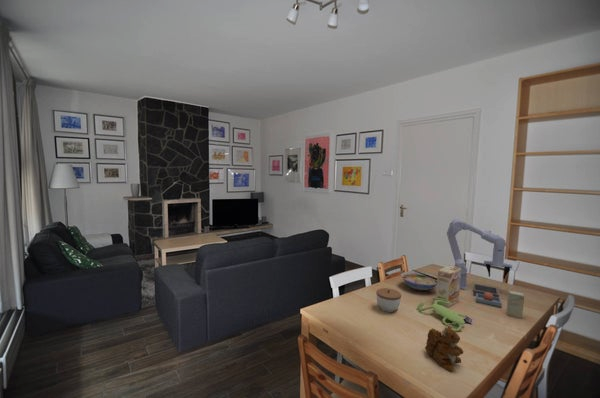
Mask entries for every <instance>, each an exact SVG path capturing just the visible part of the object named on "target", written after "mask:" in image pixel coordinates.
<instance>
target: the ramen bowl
mask: <svg viewBox="0 0 600 398" xmlns="http://www.w3.org/2000/svg"><path fill="white" fill-rule="evenodd" d="M400 276H401V278H402V280H403V282H404V283H405V284H406V285H407V286H408V287H409V288H412V289H414V290H416V291H419V292H420V291H421V292H423V291H430V290H432V289H434V288H435V287H436V288H437V283H438V276H435V275H434V274H429V273H426V272H422V271H417V270H414V269H412V271H405V272H402V273H401V274H400Z"/></svg>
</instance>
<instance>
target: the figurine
mask: <svg viewBox="0 0 600 398" xmlns="http://www.w3.org/2000/svg"><path fill="white" fill-rule="evenodd" d="M432 300H435V301H434V303H433V304H431V305H430V306H427V307H423V306H424V305H425V303H424V302H422V301H421V302H420V303H419V305H417V307H416V311H420V312H424V311H427V310H430V309H433V310H434V311H435V312H437V314H439V315H440V316H442V324H444V327H445V329H446V328H448V327H449V326H447V325H454V326H455V325H458V327H457V328H451V329H452V330H454V331H455V332H456V333H457V332H460V331H461V330H462V329H463V325H465V323H468V324H470V325H471V323H472V321H473V319H472V318H471V317H469V316H467V315H466V314H463V313H456V312H455V311H454V310H452V309H450V308H449V307H445V306H442V305H440V304H437V303H438V302H441V303H444V304H449V301H448V300H446V299H442V298H436V297H432ZM445 301H446V302H445ZM446 320H448V321H451V323H449V322H448V323H447V322H446Z"/></svg>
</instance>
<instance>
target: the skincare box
mask: <svg viewBox="0 0 600 398" xmlns="http://www.w3.org/2000/svg"><path fill="white" fill-rule="evenodd" d="M524 304H525V294H524V293H523V292H518V291H512V290H508V293H507V302H506V311H505V313H506V315H507V316H510V317H514V318H518V319H523V311H524Z"/></svg>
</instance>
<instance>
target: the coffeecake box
mask: <svg viewBox="0 0 600 398" xmlns="http://www.w3.org/2000/svg"><path fill="white" fill-rule="evenodd" d="M460 277H461V268H458V267H455V265H454V266H453V265H448V266H445V267H443V268H440V269H438V270H437V278H438V283H437V286H436V297H435V298H442V299H446V300H448V301H449V304H444V303H441V302H438V303H437V304H439V305H442V306H444V307H446V308H450V307H452V306H453V305H455V304H456V303H457V302H459V301H460V300H459V299H460V289H461V288H460ZM445 302H446V301H445Z"/></svg>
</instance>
